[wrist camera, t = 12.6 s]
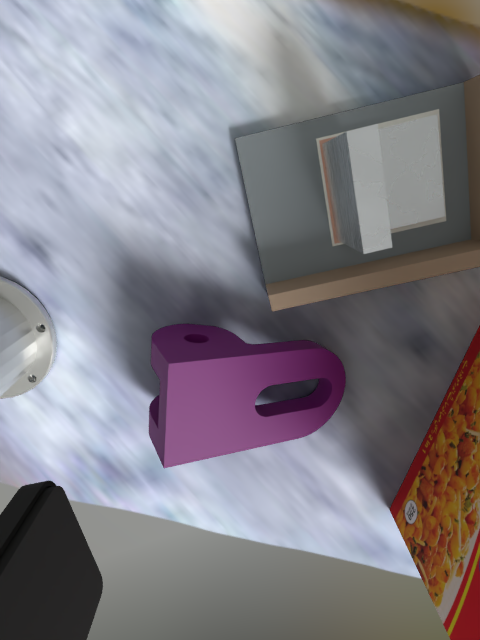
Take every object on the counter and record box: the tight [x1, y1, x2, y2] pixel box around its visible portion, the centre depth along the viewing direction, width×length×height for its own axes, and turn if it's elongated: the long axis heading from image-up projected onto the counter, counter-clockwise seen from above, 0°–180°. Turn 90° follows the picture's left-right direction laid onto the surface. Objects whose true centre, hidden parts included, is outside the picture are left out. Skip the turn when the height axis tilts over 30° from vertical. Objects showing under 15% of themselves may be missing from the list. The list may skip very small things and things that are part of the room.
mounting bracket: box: [149, 324, 346, 468], centre depth 39 cm, size 9×8×18 cm
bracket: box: [322, 114, 445, 254], centre depth 31 cm, size 9×8×8 cm
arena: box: [235, 75, 480, 311], centre depth 33 cm, size 20×14×5 cm
